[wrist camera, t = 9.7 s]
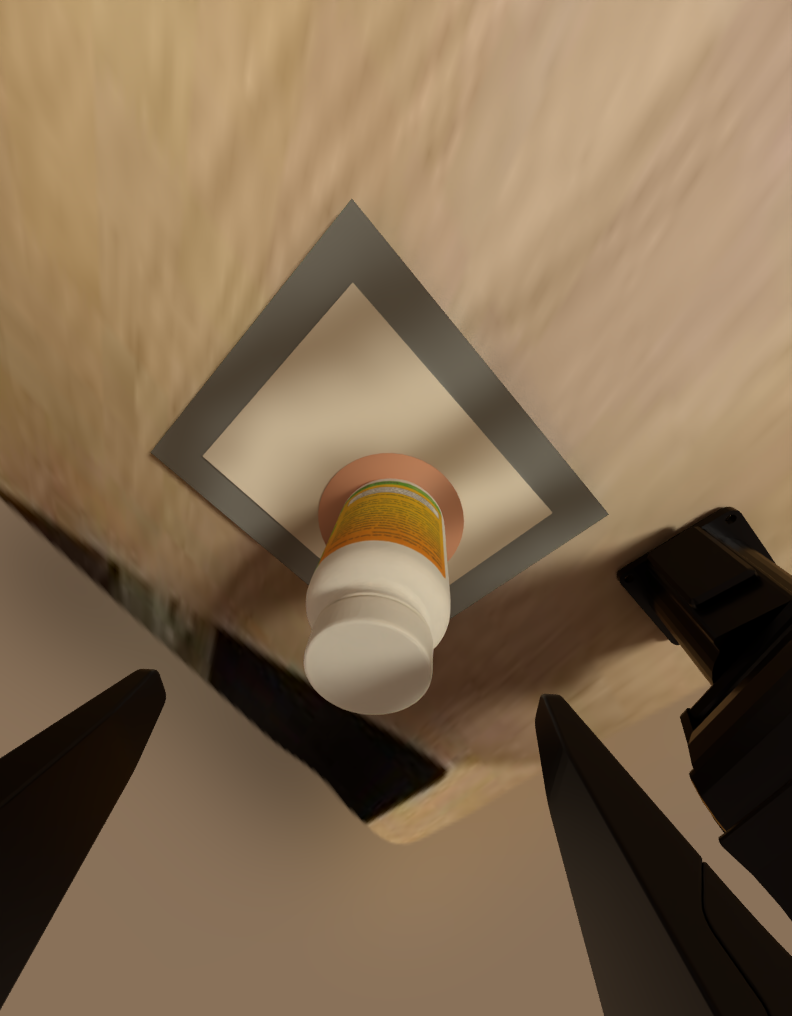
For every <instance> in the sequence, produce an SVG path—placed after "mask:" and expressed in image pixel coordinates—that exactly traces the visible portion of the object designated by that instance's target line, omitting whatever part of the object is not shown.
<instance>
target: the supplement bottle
mask: <svg viewBox="0 0 792 1016" xmlns="http://www.w3.org/2000/svg"><path fill="white" fill-rule="evenodd" d="M450 603H451V600H450V586H449V574H448V562H447V549H446V536H445V526H444V519H443V515H442V512H441V510H440V508H439V506H438V504H437V503H436V501H435V500H434V499H433V497H432V496H431V495H430V494H429V493H428V492H427V491H425V490H424V489H423V488H421V487H420V486H418V485H416V484H414V483H412V482H409V481H406V480H402V479H392V478H389V479H379V480H375V481H372V482H369V483H367V484H365V485H363V486H362V487H360V488H359V489H357V490H356V491H355V492H354V493H353V494H352V495H351V496H350V497H349V498H348V500H347V501H346V503H345V505H344V507H343V508H342V510H341V513H340V515H339V517H338V520H337V522H336V524H335V527H334V529H333V531H332V533H331V536H330V538H329V540H328V543H327V545H326V547H325V549H324V551H323V554H322V556H321V558H320V561H319V563H318V565H317V567H316V569H315V571H314V574H313V576H312V578H311V581H310V584H309V587H308V590H307V594H306V613H307V618H308V621H309V624H310V626H311V629H312V631H311V634H310V637H309V640H308V643H307V646H306V649H305V653H304V669H305V673H306V676H307V678H308V680H309V682H310V683H311V685H312V686H313V688H314V689H315V690H316V691H317V692H318V693H319V694H320V695H321V696H322V697H323V698H325V699H326V700H327V701H329V702H331V703H332V704H334V705H336V706H338V707H340V708H342V709H344V710H348V711H351V712H355V713H359V714H366V715H383V714H390V713H394V712H398V711H401V710H403V709H406V708H408V707H409V706H411V705H413V704H414V703H416V702H417V701H418V700H419V699H420V698H421V697H422V696H423V695H424V694H425V693H426V691H427V690H428V688H429V685H430V683H431V680H432V674H433V649H434V648H435V647H436V646H437V645H438V644H439V643H440V641H441V640H442V638H443V636H444V634H445V632H446V630H447V627H448V624H449V619H450Z"/></svg>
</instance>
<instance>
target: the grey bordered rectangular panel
mask: <svg viewBox="0 0 792 1016" xmlns="http://www.w3.org/2000/svg"><path fill="white" fill-rule="evenodd" d="M151 453H152V454H153V455H154V456H156V457H157V458H158V459H159V460H160V461H161V462H163V463H164V464H165V465H166V466H167V467H169V468H170V469H171V470H172V471H173V472H175V473H176V474H177V475H178V476H179V477H181V478H182V479H183V480H184V481H185V482H186V483H188V484H189V485H190V486H191V487H192V488H194V489H195V490H196V491H197V492H198V493H200V494H201V495H202V496H203V497H204V498H206V499H207V500H208V501H209V502H210V503H211V504H213V505H214V506H215V507H216V508H217V509H219V510H220V511H221V512H222V513H223V514H225V515H226V516H227V517H228V518H229V519H231V520H232V521H233V522H234V523H235V524H236V525H238V526H239V527H240V528H241V529H242V530H244V531H245V532H246V533H247V534H248V535H250V536H251V537H252V538H253V539H254V540H256V541H257V542H258V543H259V544H260V545H261V546H263V547H264V548H265V549H266V550H267V551H269V552H270V553H271V554H272V555H273V556H275V557H276V558H277V559H278V560H279V561H280V562H282V563H283V564H284V565H285V566H286V567H288V568H289V569H290V570H291V571H292V572H294V573H295V574H296V575H297V576H298V577H300V578H301V579H302V580H303V581H304V582H305V583H307V584H308V585H309V584H310V581H311V578H312V576H313V574H314V571H315V569H316V567H317V565H318V563H319V561H320V558H321V556H322V554H323V551H324V549H325V547H326V545H327V543H328V540H329V538H330V536H331V533H332V531H333V529H334V527H335V524H336V522H337V520H338V517H339V515H340V513H341V510H342V508H343V507H344V505H345V503H346V501H347V500H348V498H349V497H350V496H351V495H352V494H353V493H354V492H355V491H356V490H357V489H359V488H360V487H362V486H363V485H365V484H367V483H369V482H372V481H375V480H379V479H389V478H392V479H402V480H406V481H409V482H412V483H414V484H416V485H418V486H420V487H421V488H423V489H424V490H425V491H427V492H428V493H429V494H430V495H431V496H432V497H433V499H434V500H435V501H436V503H437V504H438V506H439V508H440V510H441V512H442V515H443V519H444V526H445V536H446V549H447V562H448V574H449V586H450V600H451V603H450V619H451V618H452V617H454V616H455V615H457V614H458V613H460V612H462V611H463V610H465V609H466V608H468V607H469V606H471V605H472V604H474V603H475V602H477V601H478V600H480V599H481V598H483V597H484V596H486V595H487V594H489V593H490V592H492V591H493V590H495V589H496V588H498V587H499V586H501V585H502V584H504V583H506V582H507V581H509V580H510V579H512V578H513V577H515V576H516V575H518V574H519V573H521V572H522V571H524V570H525V569H527V568H528V567H530V566H531V565H533V564H534V563H536V562H537V561H539V560H540V559H542V558H543V557H545V556H546V555H548V554H550V553H551V552H553V551H554V550H556V549H557V548H559V547H560V546H562V545H563V544H565V543H566V542H568V541H569V540H571V539H572V538H574V537H575V536H577V535H578V534H580V533H581V532H583V531H584V530H586V529H587V528H589V527H590V526H592V525H594V524H595V523H597V522H598V521H600V520H601V519H603V518H604V517H606V516H607V515H609V514H608V513H607V512H606V510H605V509H604V508H603V507H602V505H601V504H600V503H599V502H598V501H597V499H596V498H595V497H594V496H593V494H592V493H591V492H590V491H589V489H588V488H587V487H586V486H585V485H584V483H583V482H582V481H581V480H580V478H579V477H578V476H577V475H576V473H575V472H574V471H573V470H572V469H571V467H570V466H569V465H568V464H567V462H566V461H565V460H564V459H563V458H562V456H561V455H560V454H559V453H558V451H557V450H556V449H555V448H554V446H553V445H552V444H551V443H550V442H549V440H548V439H547V438H546V437H545V435H544V434H543V433H542V432H541V430H540V429H539V428H538V427H537V426H536V424H535V423H534V422H533V421H532V419H531V418H530V417H529V416H528V414H527V413H526V412H525V411H524V410H523V408H522V407H521V406H520V405H519V403H518V402H517V401H516V400H515V399H514V397H513V396H512V395H511V394H510V392H509V391H508V390H507V389H506V387H505V386H504V385H503V384H502V383H501V381H500V380H499V379H498V378H497V376H496V375H495V374H494V373H493V371H492V370H491V369H490V368H489V367H488V365H487V364H486V363H485V362H484V360H483V359H482V358H481V357H480V356H479V354H478V353H477V352H476V351H475V349H474V348H473V347H472V346H471V344H470V343H469V342H468V341H467V340H466V338H465V337H464V336H463V335H462V333H461V332H460V331H459V330H458V328H457V327H456V326H455V325H454V324H453V322H452V321H451V320H450V319H449V317H448V316H447V315H446V314H445V312H444V311H443V310H442V309H441V308H440V306H439V305H438V304H437V303H436V301H435V300H434V299H433V298H432V297H431V295H430V294H429V293H428V292H427V290H426V289H425V288H424V287H423V285H422V284H421V283H420V282H419V281H418V279H417V278H416V277H415V276H414V274H413V273H412V272H411V271H410V269H409V268H408V267H407V266H406V265H405V263H404V262H403V261H402V260H401V258H400V257H399V256H398V255H397V253H396V252H395V251H394V250H393V249H392V247H391V246H390V245H389V244H388V242H387V241H386V240H385V239H384V238H383V236H382V235H381V234H380V233H379V231H378V230H377V229H376V228H375V226H374V225H373V224H372V223H371V222H370V220H369V219H368V218H367V217H366V215H365V214H364V213H363V212H362V210H361V209H360V208H359V207H358V206H357V204H356V203H355V202H354V201H353V199H351V200H350V201H349V203H348V204H347V205H346V207H345V208H344V209H343V210H342V212H341V213H340V214H339V215H338V217H337V218H336V219H335V220H334V222H333V223H332V224H331V225H330V227H329V228H328V229H327V231H326V232H325V233H324V234H323V236H322V237H321V238H320V239H319V241H318V242H317V243H316V244H315V246H314V247H313V248H312V249H311V251H310V252H309V253H308V254H307V256H306V257H305V258H304V260H303V261H302V262H301V263H300V265H299V266H298V267H297V268H296V270H295V271H294V272H293V273H292V275H291V276H290V277H289V278H288V280H287V281H286V282H285V284H284V285H283V286H282V287H281V289H280V290H279V291H278V292H277V294H276V295H275V296H274V297H273V299H272V300H271V301H270V302H269V304H268V305H267V306H266V307H265V309H264V310H263V311H262V313H261V314H260V315H259V316H258V318H257V319H256V320H255V321H254V323H253V324H252V325H251V326H250V328H249V329H248V330H247V331H246V333H245V334H244V335H243V336H242V338H241V339H240V340H239V342H238V343H237V344H236V345H235V347H234V348H233V349H232V350H231V352H230V353H229V354H228V355H227V357H226V358H225V359H224V360H223V362H222V363H221V364H220V366H219V367H218V368H217V369H216V371H215V372H214V373H213V374H212V376H211V377H210V378H209V379H208V381H207V382H206V383H205V384H204V386H203V387H202V388H201V389H200V391H199V392H198V393H197V395H196V396H195V397H194V398H193V400H192V401H191V402H190V403H189V405H188V406H187V407H186V408H185V410H184V411H183V412H182V413H181V415H180V416H179V417H178V419H177V420H176V421H175V422H174V424H173V425H172V426H171V427H170V429H169V430H168V431H167V432H166V434H165V435H164V436H163V437H162V439H161V440H160V441H159V442H158V444H157V445H156V446H155V448H154V449H153V450H152V451H151Z"/></svg>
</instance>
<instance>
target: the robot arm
mask: <svg viewBox="0 0 792 1016" xmlns="http://www.w3.org/2000/svg"><path fill="white" fill-rule="evenodd" d="M729 515H731V517H730V518H729V519H727V520H725V519H726V517H728V516H729ZM628 575H630V577H629V578H626V579H625V577H626V576H628ZM617 579H618V581H619V582H620V583H621V585H622V586H623V587H624V588H625V589H626V590H627V592H628V593H629V594H630V595H631V596H632V597H633V599H634V600H635V601H636V602H637V603H638V604H639V606H640V607H641V608H642V609H643V610H644V611H645V612H646V614H647V615H648V616H649V617H650V618H651V619H652V621H653V622H654V623H655V624H656V625H657V626H658V628H659V629H660V630H661V631H662V632H663V633H664V635H665V636H666V637H667V638H668V639H669V640H670V642H671V643H673V644H675V645H681V647H682V648H683V649H684V650H685V652H686V653H687V654H688V656H689V657H690V658H691V659H692V661H693V662H694V663H695V665H696V666H697V667H698V669H699V670H700V671H701V672H702V674H703V675H704V676H705V678H706V679H707V680H708V681H709V683H710V684H711V685H712V686H711V687H710V688H709V689H708V690H707V691H706V692H705V694H704V695H703V696H702V697H701V698H700V699H699V700H698V701H697V702H696V703H695V704H694V706H692V708H691V709H690V708H687V709H686V710H685V711H684V712H683V713H682V714H681V716H680V719H681V723H682V726H683V729H684V733H685V737H686V740H687V743H688V748H689V753H690V758H691V763H692V766H693V769H692V770H691V771H690V773H689V775H690V778H691V781H692V783H693V785H694V787H695V789H696V791H697V792H698V794H699V796H700V798H701V800H702V802H703V803H704V805H705V806H706V807H707V809H708V810H709V812H710V813H711V815H712V816H713V818H714V820H715V821H716V822H717V824H718V825H719V827H720V828H721V829H722V830H723V832H724V834H723V835H721V836H720V837H719V842H720V844H721V845H722V847H724V849H726V850H727V851H728V852H729V853H730V854H731V855H732V856H733V857H734V858H735V859H736V860H737V861H738V862H739V863H741V864H742V865H743V866H744V867H745V868H746V869H747V870H748V871H749V872H750V873H751V874H752V875H753V876H754V877H755V878H756V879H757V880H758V881H759V883H761V885H762V886H763V887H764V888H765V889H766V890H767V891H768V893H769V894H770V895H771V896H772V897H773V898H774V899H775V901H776V902H777V903H778V904H779V905H780V906H781V908H782V909H783V910H784V911H785V913H786V914H787V915H788V917H789V918H790V919H791V921H792V575H790V574H789V573H787V572H786V571H785V570H783V569H782V568H780V567H779V566H777V565H776V563H775V562H774V561H773V559H772V558H771V556H770V555H769V553H768V552H767V550H766V549H765V547H764V546H763V544H762V543H761V542H760V540H759V539H758V537H757V536H756V534H755V533H754V531H753V530H752V528H751V527H750V525H749V524H748V522H747V521H746V520H745V518H744V517H743V515H742V514H741V513H740V512H739V511H738V510H736V509H734V508H733V507H724V508H722V509H720V510H718V511H717V512H715V513H713V514H712V515H710V516H708V517H707V518H705V519H703V520H702V521H700V522H698V523H697V524H695V525H693V526H692V527H690V528H688V529H687V530H685V531H683V532H682V533H680V534H678V535H677V536H675V537H673V538H672V539H670V540H668V541H667V542H665V543H663V544H662V545H660V546H658V547H657V548H655V549H654V550H652V551H650V552H649V553H647V554H645V555H644V556H642V557H640V558H639V559H637V560H635V561H634V562H632V563H630V564H629V565H627V566H625V567H624V568H622V569H620V570H619V571H618V573H617ZM165 700H166V692H165V689H164V686H163V683H162V680H161V678H160V674H159V672H158V671H157V670H153V669H139V670H137V671H135V672H133V673H132V674H130V675H129V676H127V677H125V678H124V679H122V680H121V681H119V682H118V683H116V684H114V685H113V686H111V687H110V688H108V689H107V690H105V691H104V692H102V693H101V694H99V695H97V696H96V697H94V698H93V699H91V700H90V701H88V702H87V703H85V704H84V705H82V706H80V707H79V708H77V709H76V710H74V711H73V712H71V713H70V714H68V715H66V716H65V717H63V718H62V719H60V720H59V721H57V722H56V723H54V724H53V725H51V726H49V727H48V728H46V729H45V730H43V731H42V732H40V733H39V734H37V735H35V736H34V737H32V738H31V739H29V740H28V741H26V742H25V743H23V744H22V745H20V746H19V747H17V748H15V749H14V750H12V751H11V752H9V753H8V754H6V755H4V756H3V757H1V758H0V1010H1V1008H2V1006H3V1004H4V1002H5V1001H6V999H7V997H8V995H9V993H10V992H11V990H12V988H13V986H14V984H15V983H16V981H17V979H18V977H19V976H20V974H21V972H22V970H23V969H24V966H25V965H26V963H27V961H28V960H29V958H30V956H31V954H32V952H33V950H34V949H35V947H36V945H37V944H38V942H39V940H40V938H41V936H42V935H43V933H44V931H45V929H46V927H47V926H48V924H49V922H50V920H51V919H52V917H53V915H54V913H55V911H56V909H57V908H58V906H59V904H60V902H61V901H62V899H63V897H64V895H65V893H66V892H67V890H68V888H69V886H70V885H71V883H72V881H73V879H74V877H75V876H76V874H77V872H78V870H79V869H80V867H81V865H82V863H83V861H84V860H85V858H86V856H87V854H88V852H89V851H90V849H91V847H92V845H93V844H94V842H95V840H96V838H97V836H98V835H99V833H100V831H101V829H102V828H103V826H104V824H105V822H106V820H107V819H108V817H109V815H110V813H111V811H112V810H113V808H114V806H115V804H116V803H117V800H118V799H119V797H120V795H121V794H122V792H123V790H124V788H125V786H126V785H127V783H128V781H129V779H130V777H131V775H132V774H133V772H134V770H135V768H136V766H137V763H138V761H139V759H140V757H141V755H142V752H143V750H144V748H145V746H146V744H147V742H148V739H149V737H150V735H151V733H152V730H153V728H154V726H155V724H156V721H157V719H158V717H159V715H160V713H161V710H162V708H163V706H164V703H165ZM535 729H536V735H537V741H538V747H539V753H540V760H541V766H542V772H543V778H544V784H545V790H546V796H547V801H548V806H549V810H550V814H551V818H552V822H553V826H554V829H555V833H556V837H557V841H558V844H559V848H560V852H561V856H562V859H563V863H564V867H565V871H566V874H567V878H568V882H569V886H570V889H571V893H572V897H573V900H574V904H575V908H576V912H577V916H578V919H579V923H580V927H581V931H582V934H583V938H584V942H585V946H586V949H587V953H588V957H589V960H590V964H591V968H592V971H593V976H594V979H595V983H596V986H597V991H598V994H599V998H600V1002H601V1006H602V1009H603V1013H604V1016H792V956H791V955H790V954H789V953H788V952H787V951H786V950H785V949H784V948H783V947H782V946H781V945H780V944H779V943H778V942H777V941H776V940H775V939H774V937H772V935H770V933H769V932H768V931H767V930H766V929H765V928H764V927H763V926H762V925H761V924H760V923H759V922H758V921H757V919H756V918H755V917H754V916H753V915H752V914H751V913H750V912H749V910H748V909H747V908H746V907H745V906H744V905H743V904H742V903H741V902H740V901H739V899H738V898H737V897H736V896H735V895H734V894H733V893H732V892H731V890H730V889H729V888H728V887H727V886H726V885H725V884H724V883H723V881H722V880H721V879H720V878H719V877H718V876H717V874H716V873H715V872H714V871H713V870H712V869H711V868H710V866H709V865H708V864H707V863H706V862H702V858H701V856H700V855H699V854H698V853H697V852H696V850H695V849H694V848H693V847H692V846H691V845H690V844H689V842H688V841H687V840H686V839H685V838H684V837H683V836H682V834H681V833H680V832H679V831H678V830H677V829H676V828H675V826H674V825H673V824H672V823H671V822H670V821H669V819H668V818H667V817H666V816H665V815H664V814H663V812H662V811H661V810H660V809H659V808H658V807H657V806H656V804H655V803H654V802H653V801H652V800H651V799H650V798H649V796H648V795H647V794H646V793H645V792H644V791H643V789H642V788H641V787H640V786H639V785H638V784H637V783H636V781H635V780H634V779H633V778H632V777H631V776H630V775H629V773H628V772H627V771H626V770H625V769H624V768H623V767H622V765H621V764H620V763H619V762H618V761H617V759H615V757H614V756H613V755H612V754H611V753H610V751H609V750H608V749H607V748H606V747H605V746H604V745H603V743H602V742H601V741H600V740H599V739H598V738H597V736H596V735H595V734H594V733H593V732H592V731H591V730H590V728H589V727H588V726H587V725H586V724H585V723H584V721H583V720H582V719H581V718H580V717H579V716H578V715H577V713H576V712H575V711H574V710H573V709H572V708H571V706H570V705H569V704H568V703H567V702H566V701H565V700H564V698H563V697H561V696H560V695H556V694H542V695H541V697H540V700H539V704H538V708H537V713H536V717H535Z"/></svg>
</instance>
